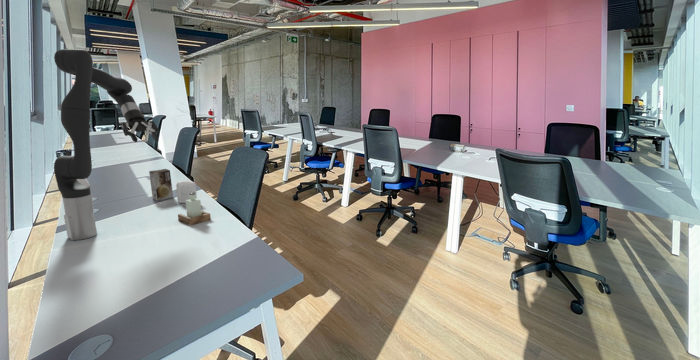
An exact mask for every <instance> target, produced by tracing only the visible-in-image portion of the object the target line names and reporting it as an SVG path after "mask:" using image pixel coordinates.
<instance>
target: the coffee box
mask: <svg viewBox="0 0 700 360" xmlns="http://www.w3.org/2000/svg"><path fill="white" fill-rule="evenodd" d="M148 174H149V181H150V187H151V188H150V189H151V196H152V199H153V200H155V201H156V202H157V201H162V200H166V199H167V200H168V199H171V198H174V192H173V184H172V183H173V182H172V177H171V175H172V174H171V170H170V169H167V168H162V169H156V170H155V169H154V170H149V173H148Z"/></svg>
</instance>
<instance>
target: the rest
mask: <svg viewBox="0 0 700 360" xmlns="http://www.w3.org/2000/svg"><path fill="white" fill-rule="evenodd" d="M201 213H202V215H200V216H196V217H192V218H190V217H187V215H185V214H182V213H178V214H177V219H178V221H179V222H181V223H183V224H186V225H189V226H193V225H197V224H201V223H204V222H207V221H212V219H211V213H209V212H207V211H204V210H201Z"/></svg>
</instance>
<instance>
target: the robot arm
mask: <svg viewBox="0 0 700 360" xmlns="http://www.w3.org/2000/svg"><path fill="white" fill-rule="evenodd" d="M53 59H54V63H55V65H56V67H57V68H58V70H60V71H62V72H63V73H66V74H69V75H73V76H74V77H75V79H74V83H73V85H72V87H71V88H70V90H69V91H68V92H67V94H66V95H65V97H64V98H63V100H62V102H61V105H60V122H61V124H62V127H63V129H64V130H65V131H66V133H67V135H68V136H69V137H70V139H71V141H72V145H73V152H74V153H73V155H60V156H58V157H56V159H55V160H54V163H53V171H54V176H55V181H56V184H57V189H58V191H59V192H60V194H61V198H62V203H63V209H64V213H65V214H64V215H63V217H64V218H63V219H64V224H65V230H66V236H67V239H69V238H70V239H69V240H71V241H78V240H79V241H81V240H85V239H89V238H92V237H94V236H97V235H98V234H97V233H98V231H97V226H96V219H95V212H94V204H93V205H92V201H93V198H92V199H91V195H92V191H91V192H90V188H91V187H90V188H89V187H88V186H85V185H83V184H81V183H79V182H78V181H77V179H87V178H89V177H90V176H91V173H92V167H93V163H92V153H91V143H90V142H91V141H90V139H91V137H90V136H91V135H90V134H91V133H90V131H91V130H90V128H91V127H90V126H91V125H90V123H91V86H92V84H94V85H96V86H98V87H100V88H102V89H103V90H105V91H106V93H107V94H108V95H109V97H111V98H112V99H113V100H114V101H115V102H116V104H117V105H118V107H119V108H120V110H121V113H122V116H123V118H124V119H125V121H126V122H122V123H121V126H120V127H121V130H122V132H123V134H124V136H125V137H127V136H129V137H130V138H131V139H132V141H133V142H134V143H138V141H139V140H138V137H137V135H136V132H137V133H141V132H142V133H144V132H145V133H146V134H150V135H151V137H152V139H153V141H155V142H157V140H158V138H159V137H158V132H159V129H160V128H159V127H158V126H157V125H156V123H155V121H153V120H152V121H150V122H148V121H146V118H145V116H144V114H143V112H142V111H141V109H140V107H139V106H138V105H137V102H136V101H135V99H134V98H133V96H132V95H130V93H132V90H133V86H132V85H131V83H130V82H129V81H128V80H126V79H124V78H121V77H117V76H113V75H112V74H110V73H109V72H107V71H104V70H102V69H99V68H96V67H94V63H93V62H94V61H93V60H94V59H93V57H92V54H91V53H90V51H88V50H86V49H81V48H79V49H78V48H77V49H76V48H75V49H74V48H63V49H58V50H56V52H55V53H54V58H53ZM129 129H131V131H130V130H129Z"/></svg>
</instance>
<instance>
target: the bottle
mask: <svg viewBox="0 0 700 360" xmlns="http://www.w3.org/2000/svg"><path fill="white" fill-rule="evenodd" d="M189 195H190V199H189V200H186V203H185V208H186V209H185V210H186V216H187V217H190V218H192V217H196V216H200V215H202V213H201V211H202V205H201V203H202V202H201V199H199V198H197V199H196V198H195V192H190V193H189Z"/></svg>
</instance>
